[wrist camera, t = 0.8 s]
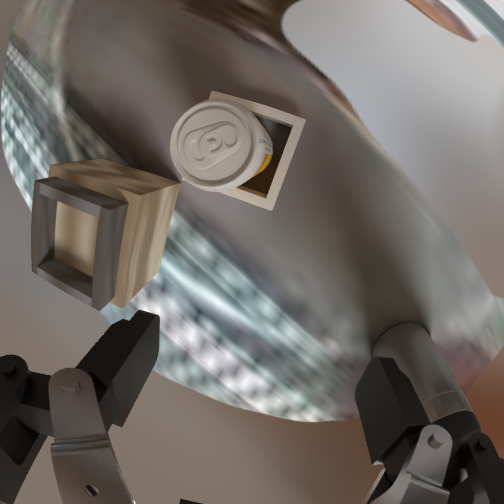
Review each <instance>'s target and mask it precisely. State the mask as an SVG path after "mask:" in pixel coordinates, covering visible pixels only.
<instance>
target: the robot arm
mask: <svg viewBox="0 0 504 504" xmlns="http://www.w3.org/2000/svg"><path fill="white" fill-rule="evenodd" d="M159 329H160V317H159V315H156V314H153V313H149V312H146V311H142V310H138V311H137V312H136V313H135V315H134V316H133V317H132V318H131V319H130V321H128V320H125V319H122V320H120V321H118V322H116V323H114V324H112V325H111V326H110V327H109V329H108V330H107V331H106V332H105V333H104V335H102V337H101V338H100V339H99V340H98V342H96V343H95V345H94V346H93V347H92V348H91V349H90V351H89V352H88V353H87V354H86V356H85V357H84V358H83V359H82V360H81V361H80V363H79V364H78V365H77V366H76V367H75V368H64V369H61V370H58V371H57V372H55V373H54V374H53V375H52V376H51V375H45V374H40V373H36V372H31V371H29V369H28V366H27V364H26V362H25V360H23V359H22V358H21V357H19V356H17V355H5V356H2V357H0V504H13V503H14V501H15V498H16V496H17V494H18V492H19V490H20V488H21V486H22V484H23V481H24V480H25V477H26V476H27V474H28V471H29V470H30V468H31V466H32V464H33V462H34V460H35V458H36V456H37V454H38V452H39V451H40V449H41V447H42V445H43V443H44V441H45V440H46V438H47V436H52V437H54V443H53V444H51V447H50V449H51V457H52V462H53V467H54V472H55V476H56V480H57V484H58V488H59V492H60V496H61V499H62V502H63V504H135V502H134V500H133V497H132V495H131V493H130V491H129V489H128V487H127V484H126V482H125V480H124V477H123V475H122V472H121V470H120V467H119V465H118V462H117V459H116V456H115V453H114V451H113V448H112V445H111V442H110V438H109V436H108V430H109V428H110V426H111V425H112V424H115V425H117V426H120V427H123V425H124V423H125V421H126V419H127V417H128V415H129V413H130V411H131V409H132V407H133V405H134V403H135V401H136V399H137V397H138V395H139V393H140V391H141V389H142V388H143V386H144V384H145V382H146V380H147V378H148V376H149V374H150V372H151V371H152V369H153V367H154V365H155V363H156V360H157V357H158V353H159ZM355 400H356V403H357V407H358V411H359V414H360V418H361V422H362V426H363V430H364V434H365V438H366V442H367V446H368V450H369V454H370V458H371V463H372V465H376V464H384V466H385V468H384V469H383V470H382V471H381V473H380V474H379V476H378V478H377V480H376V481H375V483H374V485H373V487H372V488H371V490H370V492H369V493H368V495H367V496H366V498H365V500H364V501H363V503H362V504H504V459H502V458H499V456H498V454H497V452H496V449H495V447H494V445H493V443H492V441H491V439H490V438H489V437H488V436H487V435H485V434H484V433H481V429H480V425H479V422H478V420H477V418H476V416H475V414H474V412H473V410H472V408H471V407H470V405H469V403H468V401H467V399H466V397H465V395H464V394H463V392H462V390H461V388H460V386H459V385H458V383H457V381H456V379H455V376H454V374H453V372H452V371H451V369H450V367H449V366H448V364H447V362H446V361H445V359H444V357H443V356H442V354H441V352H440V351H439V349H438V348H437V346H436V344H435V343H434V341H433V340H432V338H430V336H429V335H428V333H427V332H426V330H425V329H424V328H423V327H422V326H421V325H420V324H417V323H413V322H407V323H402V324H398V325H396V326H394V327H392V328H390V329H389V330H387V331H386V332H385V333H384V334H383V335H381V336H380V338H379V339H378V340H377V342H376V343H375V345H374V347H373V351H372V359H371V361H370V363H369V365H368V367H367V368H366V370H365V372H364V374H363V376H362V377H361V379H360V381H359V383H358V385H357V387H356V391H355ZM180 504H201V503H197V502H192V501H188V500H183V499H181V500H180Z"/></svg>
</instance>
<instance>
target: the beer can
mask: <svg viewBox="0 0 504 504" xmlns="http://www.w3.org/2000/svg"><path fill="white" fill-rule="evenodd" d="M170 153H171V158H172V161H173V163H174V165H175V167H176V169H177V170H178V172H179V173H180V175H181V176H182V177H183V178H184V179H185V180H186V181H187V182H189V183H190V184H191V185H193V186H195V187H197V188H199V189H202V190H206V191H212V192H221V191H227V190H230V189H233V188H236V187H238V186H239V185H241V184H243V183H244V182H246V181H247V180H249V179H251V178H252V177H254V176H255V175H257V174H258V173H260V172H261V171H263V170H264V169H265V168H266V167H267V166H268V164H269V163H270V161H271V158H272V155H273V143H272V140H271V138H270V136H269V134H268V133H267V131H266V130H265V128H264V127H263V126H262V124H261V123H260V122H259V120H258V119H257V118H256V116H255V115H254V114H253V113H252V112H251V111H250V110H249V109H248V108H247V107H245V106H244V105H242V104H240V103H238V102H236V101H233V100H229V99H218V98H217V99H210V100H205V101H203V102H200V103H198V104H196V105H194V106H193V107H191V108H190V109H189V110H187V111H186V112H185V113H184V114H183V115H182V116H181V117H180V118H179V120H178V121H177V123H176V124H175V126H174V128H173V131H172V134H171V138H170Z"/></svg>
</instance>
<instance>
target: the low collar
mask: <svg viewBox="0 0 504 504" xmlns="http://www.w3.org/2000/svg"><path fill="white" fill-rule="evenodd" d="M217 98H218V99H229V100H233V101H236V102H238V103H240V104H242V105H244V106H245V107H247V108H248V109H249V110H250V111H251V112H252V113H253V114H254V115H255V116H258V117H262V118H265V119H268V120H271V121H274V122H277V123H279V124H282V125H285V126H288V127H291V128H292V130H291V133H290V135H289V138H288V141H287V143H286V146H285V149H284V151H283V154H282V157H281V160H280V162H279V165H278V168H277V170H276V173H275V176H274V179H273V181H272V184H271V187H270V189H269V192H268V195H267V194H264V193H262V192H259V191H256V190H253V189H250V188H248V187H245V186H242V185H239V186H238V187H236V188H233V189H230V190H227V191H221V192H220V193H223V194H226V195H228V196H231V197H234V198H237V199H240V200H243V201H245V202H248V203H251V204H254V205H256V206H259V207H262V208H265V209H267V210H270V211H272V210H273V207H274V205H275V202H276V199H277V197H278V194H279V191H280V189H281V186H282V183H283V181H284V178H285V175H286V173H287V170H288V167H289V165H290V162H291V159H292V157H293V154H294V151H295V149H296V146H297V143H298V140H299V138H300V135H301V132H302V130H303V127H304V124H305V122H306V120H305V119H303V118H300V117H297V116H295V115H292V114H289V113H286V112H283V111H280V110H278V109H275V108H271V107H268V106H265V105H262V104H259V103H256V102H252V101H249V100H246V99H242V98H238V97H235V96H231V95H227V94H224V93H220V92H216V91H211V94H210V97H209V99H208V100H210V99H217ZM182 180H184V181H186V180H185V179H184V178H182Z"/></svg>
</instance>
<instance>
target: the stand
mask: <svg viewBox="0 0 504 504" xmlns="http://www.w3.org/2000/svg"><path fill="white" fill-rule="evenodd" d="M180 185H181V183H179V182H176V181H173V180H170V179H167V178H164V177H161V176H158V175H155V174H152V173H148V172H145V171H142V170H139V169H136V168H132V167H129V166H126V165H122V164H119V163H116V162H112V161H109V160H106V159H93V160H84V161H76V162H68V163H61V164H54V165H50V171H49V178H44V179H40V180H35V182H34V192H33V204H32V225H31V258H32V272H34V273H35V274H37V275H38V276H40V277H42V278H43V279H45V280H47V281H48V282H50V283H51V284H53V285H55V286H56V287H58V288H59V289H61V290H63V291H64V292H66V293H68V294H70V295H71V296H73V297H75V298H77V299H79V300H80V301H82V302H84V303H86V304H87V305H89V306H91V307H93V308H95V309H97V310H99V311H100V310H101V309H102V308H104V307H105V306H106V305H107V304H108V303H109V302H110V303H112V304H114V305H116V306H119V307H121V308H123V307H124V306H125V305H126V304H127V303H128V302H129V301H130V300H131V299H132V298H133V297H134V296H135V295H136V294H137V293H138V292H139V291H140V290H141V289H142V288H143V287H144V286H145V285H146V284H147V283H148V282H149V281H150V280H151V279H152V278H153V277H154V276H155V275H156V274H157V273H158V272H159V270H160V265H161V260H162V256H163V251H164V247H165V243H166V238H167V234H168V230H169V226H170V222H171V218H172V214H173V210H174V207H175V203H176V199H177V196H178V192H179V188H180Z"/></svg>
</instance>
